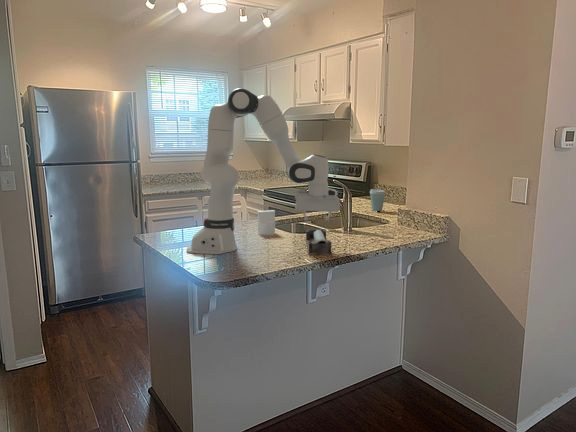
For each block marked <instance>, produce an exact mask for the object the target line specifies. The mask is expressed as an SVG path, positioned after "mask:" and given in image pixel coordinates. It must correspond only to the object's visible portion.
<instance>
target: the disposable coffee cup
mask: <svg viewBox="0 0 576 432" xmlns="http://www.w3.org/2000/svg"><path fill="white" fill-rule="evenodd" d="M369 194H370V204H371V210H372V212H373V211H382V212H383V207H384V202H385V196H386V190H383V189H378V188H371V189H370V190H369Z"/></svg>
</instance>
